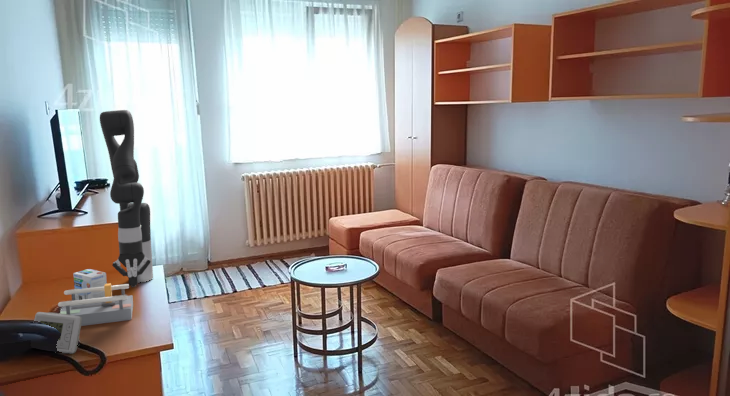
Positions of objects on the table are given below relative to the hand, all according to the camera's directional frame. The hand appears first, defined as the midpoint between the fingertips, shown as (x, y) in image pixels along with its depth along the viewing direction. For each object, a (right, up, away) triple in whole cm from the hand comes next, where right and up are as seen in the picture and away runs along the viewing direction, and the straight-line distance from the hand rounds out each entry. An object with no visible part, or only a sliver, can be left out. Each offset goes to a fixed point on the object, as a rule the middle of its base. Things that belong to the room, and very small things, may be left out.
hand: (133, 286), depth 185 cm
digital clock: (-11, -15, -27) cm, 33 cm away
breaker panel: (-11, -10, -3) cm, 15 cm away
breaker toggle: (-8, -6, -2) cm, 10 cm away
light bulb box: (-22, -8, +13) cm, 27 cm away
